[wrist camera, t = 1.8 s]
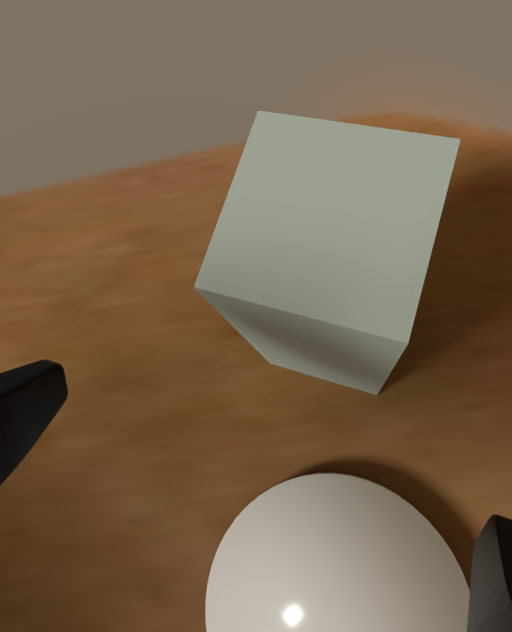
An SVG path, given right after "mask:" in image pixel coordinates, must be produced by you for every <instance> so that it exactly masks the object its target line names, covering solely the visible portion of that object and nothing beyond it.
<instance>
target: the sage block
mask: <svg viewBox="0 0 512 632" xmlns="http://www.w3.org/2000/svg"><path fill="white" fill-rule="evenodd" d="M459 143H460V139H456V138H449V137H442V136H435V135H427V134H420V133H413V132H406V131H399V130H392V129H385V128H378V127H371V126H364V125H357V124H350V123H343V122H336V121H328V120H321V119H314V118H307V117H300V116H293V115H285V114H278V113H272V112H265V111H258V113H257V116H256V119H255V121H254V124H253V127H252V130H251V132H250V135H249V137H248V140H247V143H246V146H245V148H244V151H243V154H242V157H241V159H240V162H239V165H238V168H237V170H236V173H235V176H234V179H233V181H232V184H231V187H230V190H229V192H228V195H227V198H226V200H225V203H224V206H223V209H222V211H221V214H220V217H219V220H218V222H217V225H216V228H215V231H214V233H213V236H212V239H211V242H210V244H209V247H208V250H207V252H206V255H205V258H204V261H203V263H202V266H201V269H200V272H199V274H198V277H197V280H196V283H195V285H194V288H195V289H196V290H197V291H198V292H199V293H200V294H201V295H202V296H203V297H204V298H205V299H206V300H207V301H208V302H209V303H210V304H211V305H212V306H213V307H214V308H215V309H216V310H217V311H218V312H219V313H220V314H221V315H222V316H223V317H224V318H225V319H226V320H227V321H228V322H229V323H230V324H231V325H232V326H233V327H234V328H235V329H236V330H237V331H238V332H239V333H240V334H241V335H242V336H243V337H244V338H245V339H246V340H247V341H248V342H249V343H250V344H251V345H252V346H253V347H254V348H255V349H256V350H257V351H258V352H259V353H260V354H261V355H262V356H263V357H264V358H265V359H266V360H267V361H268V362H269V363H270V364H274V365H277V366H280V367H284V368H287V369H290V370H294V371H297V372H300V373H304V374H307V375H311V376H314V377H317V378H321V379H324V380H327V381H331V382H334V383H337V384H341V385H344V386H347V387H351V388H354V389H358V390H361V391H364V392H368V393H371V394H374V395H378V393H379V391H380V390H381V388H382V386H383V385H384V383H385V381H386V380H387V378H388V376H389V375H390V373H391V371H392V370H393V368H394V366H395V365H396V363H397V361H398V360H399V358H400V356H401V355H402V353H403V351H404V350H405V348H406V346H407V345H408V342H409V338H410V335H411V331H412V327H413V323H414V319H415V315H416V311H417V307H418V303H419V299H420V295H421V292H422V288H423V284H424V280H425V276H426V272H427V268H428V264H429V260H430V256H431V252H432V249H433V245H434V241H435V237H436V233H437V229H438V225H439V221H440V217H441V213H442V209H443V206H444V202H445V198H446V194H447V190H448V186H449V182H450V178H451V174H452V170H453V166H454V163H455V159H456V155H457V151H458V147H459Z"/></svg>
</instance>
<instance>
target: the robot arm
mask: <svg viewBox="0 0 512 632" xmlns="http://www.w3.org/2000/svg"><path fill="white" fill-rule="evenodd" d="M67 395H68V389H67V384H66V379H65V374H64V369H63V367H62V365H60V364H59V363H56V362H53V361H50V360H40V361H37V362H34V363H31V364H27V365H24V366H21V367H18V368H15V369H12V370H9V371H6V372H3V373H0V486H1V484H2V483H3V482H4V481H5V480H6V479H7V478H8V476H9V475H10V474H11V473H12V472H13V471H14V470H15V468H16V467H17V466H18V465H19V464H20V462H21V461H22V460H23V459H24V458H25V456H26V455H27V454H28V452H29V451H30V450H31V448H32V447H33V446H34V444H35V443H36V441H37V440H38V439H39V437H40V436H41V435H42V433H43V432H44V430H45V429H46V428H47V426H48V425H49V423H50V422H51V421H52V419H53V418H54V416H55V415H56V414H57V412H58V411H59V409H60V408H61V407H62V405H63V404H64V402H65V401H66V398H67ZM467 632H512V520H511V519H508V518H505V517H502V516H500V515H492V516H491V517H490V518H489V520H488V521H487V523H486V525H485V526H484V528H483V530H482V532H481V533H480V535H479V537H478V538H477V540H476V543H475V546H474V550H473V559H472V571H471V584H470V596H469V609H468V621H467Z"/></svg>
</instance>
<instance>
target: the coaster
mask: <svg viewBox="0 0 512 632" xmlns="http://www.w3.org/2000/svg"><path fill="white" fill-rule="evenodd" d="M469 596H470V590H469V588H468V585H467V583H466V580H465V577H464V575H463V572H462V570H461V568H460V566H459V564H458V562H457V560H456V558H455V556H454V555H453V553H452V551H451V550H450V548H449V547H448V545H447V544H446V542H445V541H444V539H443V538H442V536H441V535H440V534H439V533H438V532H437V530H436V529H435V528H434V527H433V526H432V525H431V523H430V522H429V521H428V520H427V519H426V518H425V517H424V516H423V515H422V514H421V513H420V512H419V511H418V510H416V509H415V508H414V507H413V506H412V505H411V504H410V503H409V502H407V501H406V500H405V499H403V498H402V497H400V496H399V495H398V494H396V493H395V492H393V491H391V490H389V489H388V488H386V487H384V486H382V485H380V484H378V483H375V482H373V481H371V480H368V479H365V478H362V477H358V476H354V475H350V474H343V473H335V472H326V473H313V474H306V475H302V476H298V477H295V478H291V479H289V480H287V481H284V482H282V483H280V484H278V485H276V486H274V487H272V488H271V489H269V490H268V491H266V492H264V493H263V494H261V495H260V496H258V497H257V498H256V499H255V500H254V501H252V502H251V503H250V504H249V505H248V506H246V508H245V509H244V510H243V511H242V512H241V513H240V514H239V515H238V516H237V518H236V519H235V520H234V522H233V523H232V524H231V526H230V527H229V529H228V530H227V532H226V533H225V535H224V537H223V539H222V541H221V543H220V545H219V547H218V550H217V552H216V555H215V558H214V560H213V563H212V567H211V571H210V575H209V579H208V585H207V593H206V614H205V619H206V629H207V632H467V621H468V609H469Z"/></svg>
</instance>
